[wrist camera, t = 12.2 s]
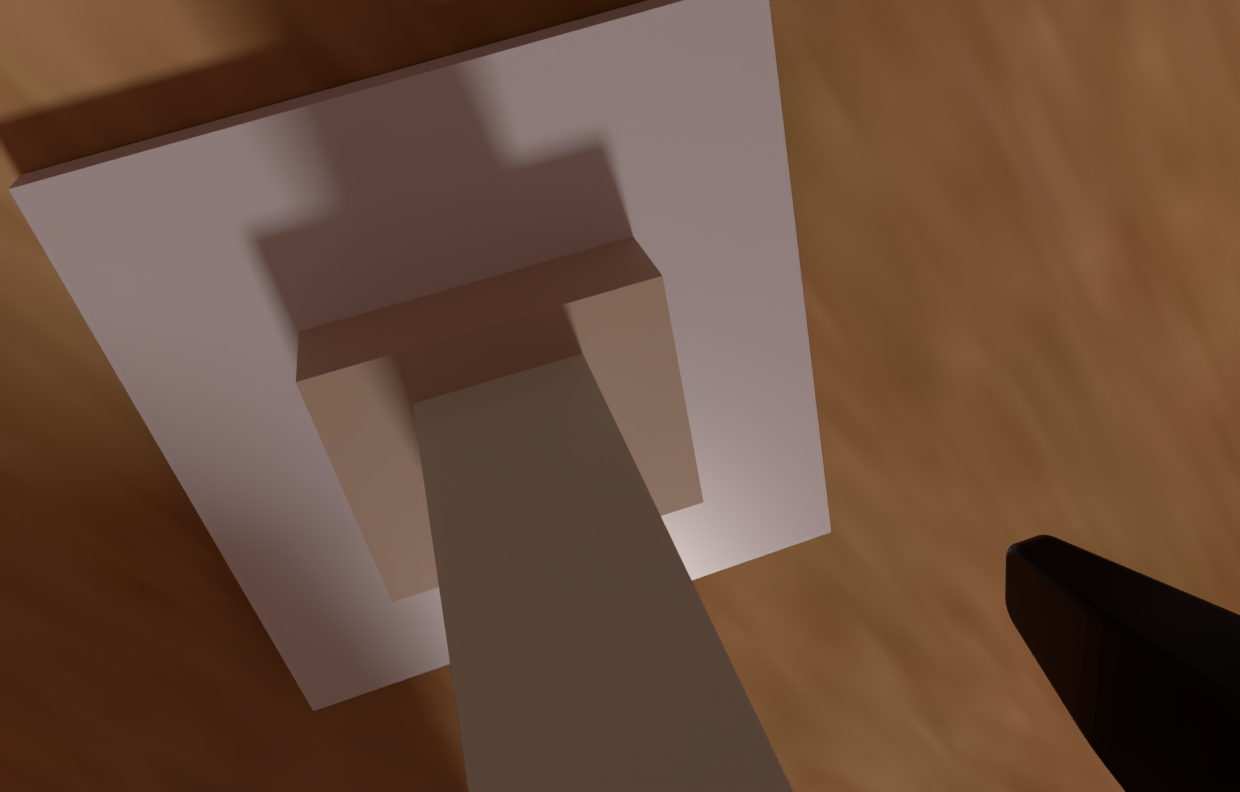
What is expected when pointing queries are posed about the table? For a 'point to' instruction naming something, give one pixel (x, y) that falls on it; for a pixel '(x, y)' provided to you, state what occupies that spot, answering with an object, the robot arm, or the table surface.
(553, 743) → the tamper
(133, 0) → the table surface
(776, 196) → the pad
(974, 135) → the table surface
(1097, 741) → the robot arm
